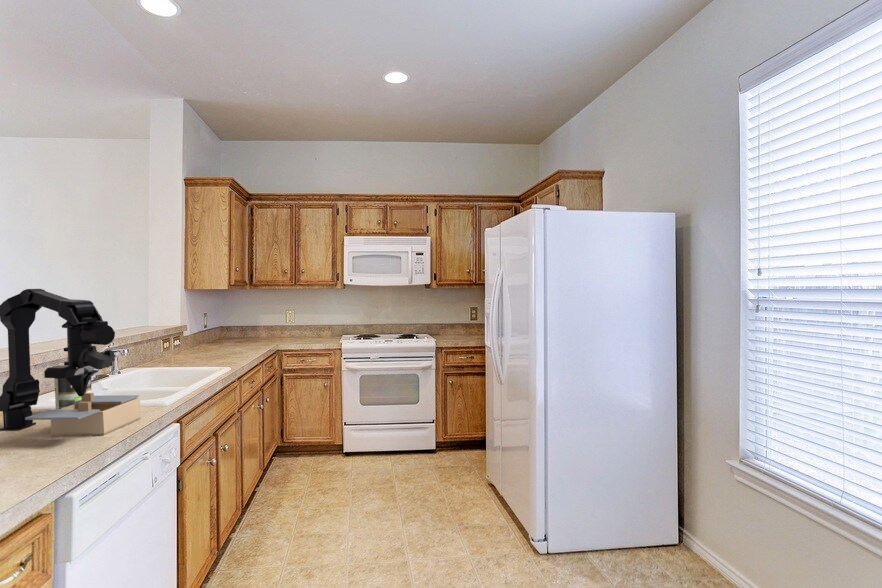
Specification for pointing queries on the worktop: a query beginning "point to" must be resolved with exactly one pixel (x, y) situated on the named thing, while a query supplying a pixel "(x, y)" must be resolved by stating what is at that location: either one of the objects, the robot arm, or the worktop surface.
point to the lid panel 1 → (66, 413)
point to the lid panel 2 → (105, 398)
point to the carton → (98, 419)
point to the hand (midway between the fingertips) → (81, 395)
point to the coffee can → (66, 393)
